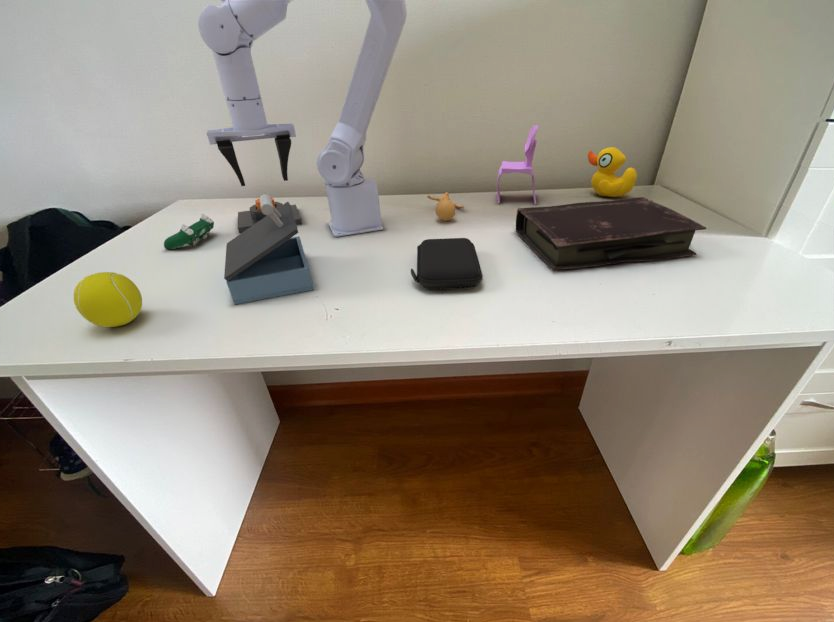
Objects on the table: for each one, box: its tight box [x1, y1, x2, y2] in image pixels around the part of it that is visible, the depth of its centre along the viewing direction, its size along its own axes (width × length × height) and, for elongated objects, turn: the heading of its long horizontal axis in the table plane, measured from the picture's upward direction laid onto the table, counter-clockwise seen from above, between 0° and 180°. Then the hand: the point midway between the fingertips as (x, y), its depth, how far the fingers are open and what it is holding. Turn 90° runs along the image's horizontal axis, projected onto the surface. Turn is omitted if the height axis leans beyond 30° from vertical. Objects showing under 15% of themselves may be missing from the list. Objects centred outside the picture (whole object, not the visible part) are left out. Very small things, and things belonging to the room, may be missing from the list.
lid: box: [223, 193, 299, 282], centre depth 61 cm, size 12×13×4 cm
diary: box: [515, 196, 707, 270], centre depth 72 cm, size 19×25×5 cm
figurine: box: [426, 191, 465, 222], centre depth 87 cm, size 8×6×12 cm
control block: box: [237, 201, 303, 234], centre depth 86 cm, size 12×10×3 cm
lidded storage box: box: [226, 235, 314, 305], centre depth 65 cm, size 11×13×4 cm
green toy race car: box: [163, 213, 215, 250], centre depth 78 cm, size 9×4×6 cm
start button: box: [254, 197, 276, 210], centre depth 85 cm, size 4×4×2 cm
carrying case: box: [410, 237, 484, 291], centre depth 66 cm, size 11×3×15 cm
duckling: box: [587, 146, 638, 198], centre depth 92 cm, size 11×5×10 cm, turn 51°
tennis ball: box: [73, 271, 143, 328], centre depth 55 cm, size 7×7×7 cm
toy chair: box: [496, 124, 539, 205], centre depth 90 cm, size 8×9×15 cm
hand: (264, 182), depth 79 cm, fingers open, 7 cm apart
